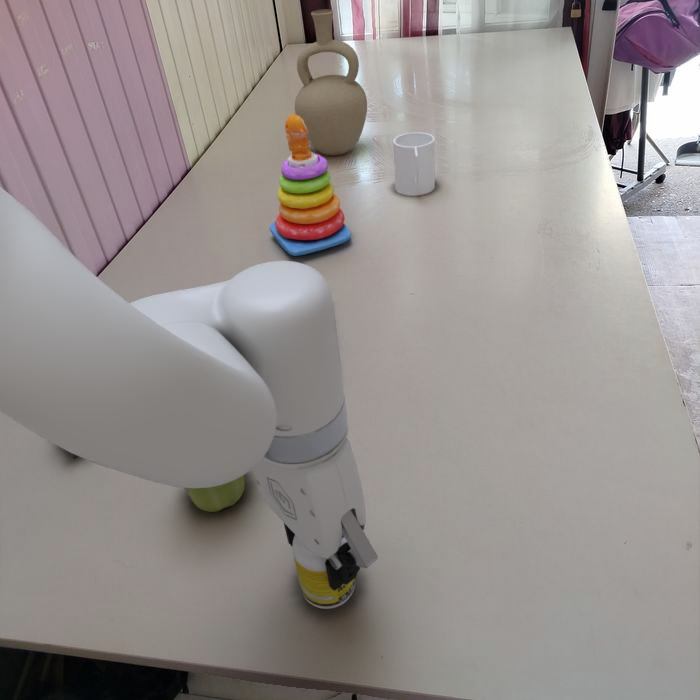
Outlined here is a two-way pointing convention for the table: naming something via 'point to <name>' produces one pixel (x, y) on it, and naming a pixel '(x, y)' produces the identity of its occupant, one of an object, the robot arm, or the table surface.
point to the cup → (414, 163)
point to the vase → (330, 94)
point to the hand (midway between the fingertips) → (323, 556)
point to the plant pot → (217, 495)
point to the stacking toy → (306, 198)
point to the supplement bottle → (318, 578)
